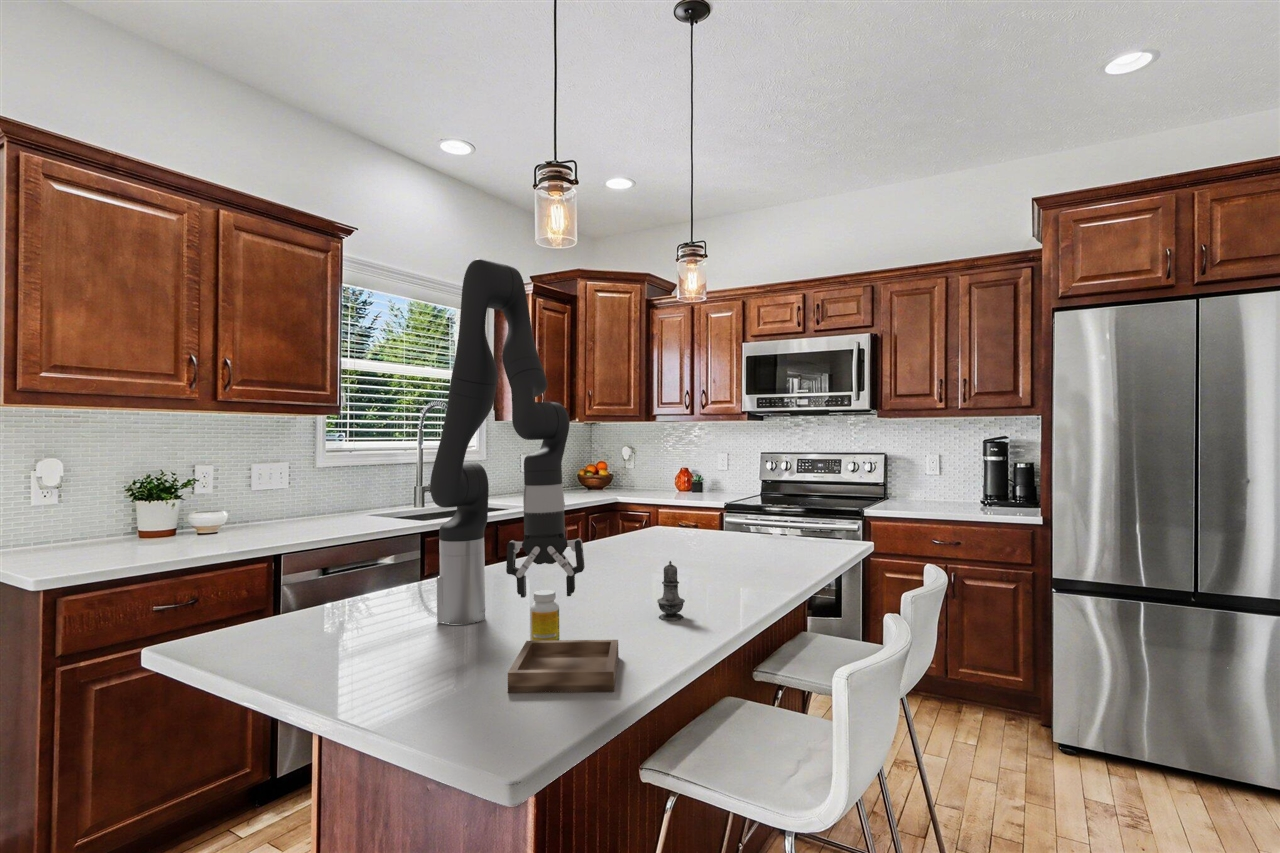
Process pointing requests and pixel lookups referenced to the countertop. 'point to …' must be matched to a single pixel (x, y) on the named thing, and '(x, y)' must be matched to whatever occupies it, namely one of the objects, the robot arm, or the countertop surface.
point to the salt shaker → (670, 595)
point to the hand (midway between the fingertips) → (546, 596)
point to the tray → (564, 666)
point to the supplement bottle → (544, 616)
